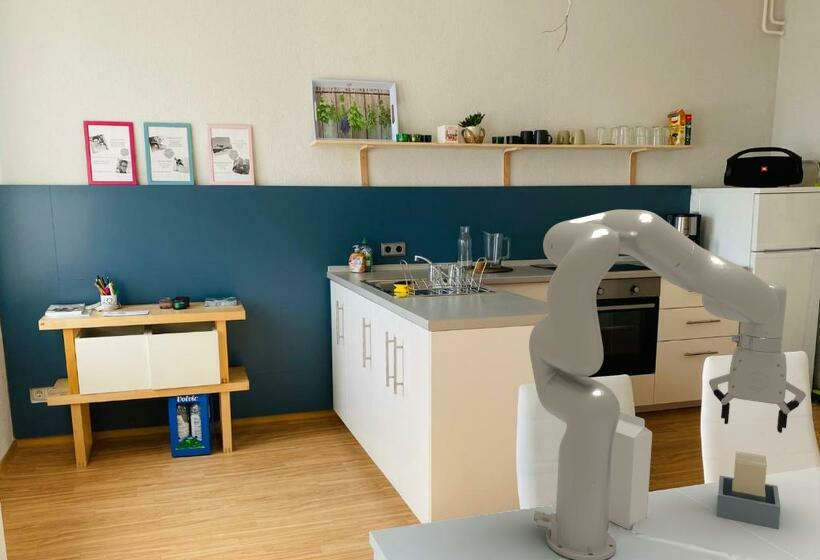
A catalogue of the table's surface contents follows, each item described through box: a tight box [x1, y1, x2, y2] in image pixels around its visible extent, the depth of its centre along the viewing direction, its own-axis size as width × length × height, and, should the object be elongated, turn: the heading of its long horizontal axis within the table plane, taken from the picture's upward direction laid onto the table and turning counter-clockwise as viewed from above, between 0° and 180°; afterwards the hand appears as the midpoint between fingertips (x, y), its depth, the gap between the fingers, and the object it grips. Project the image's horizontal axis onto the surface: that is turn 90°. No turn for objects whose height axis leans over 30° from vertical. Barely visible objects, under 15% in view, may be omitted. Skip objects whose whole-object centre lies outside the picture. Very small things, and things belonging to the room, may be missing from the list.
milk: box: [608, 411, 653, 531], centre depth 131 cm, size 6×6×22 cm
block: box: [731, 480, 766, 503], centre depth 135 cm, size 6×6×5 cm
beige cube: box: [733, 450, 768, 496], centre depth 134 cm, size 6×6×6 cm
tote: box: [716, 474, 781, 530], centre depth 135 cm, size 11×11×6 cm
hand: (752, 426), depth 133 cm, fingers open, 9 cm apart
